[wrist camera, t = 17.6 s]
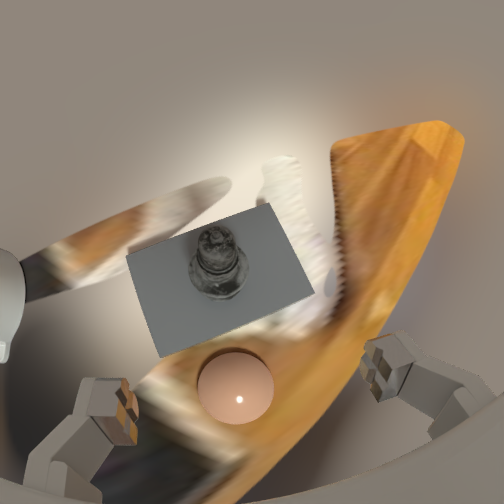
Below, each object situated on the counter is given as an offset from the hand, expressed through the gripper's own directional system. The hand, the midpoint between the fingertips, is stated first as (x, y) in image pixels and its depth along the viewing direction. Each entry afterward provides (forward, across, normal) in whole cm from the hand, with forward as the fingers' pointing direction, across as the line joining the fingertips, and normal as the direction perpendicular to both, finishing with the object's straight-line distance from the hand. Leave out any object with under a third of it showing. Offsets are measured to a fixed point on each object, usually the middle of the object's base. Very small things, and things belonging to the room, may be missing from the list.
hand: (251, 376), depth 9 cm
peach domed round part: (+14, 0, +18) cm, 23 cm away
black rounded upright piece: (+21, 0, +9) cm, 23 cm away
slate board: (+22, 0, +9) cm, 24 cm away
